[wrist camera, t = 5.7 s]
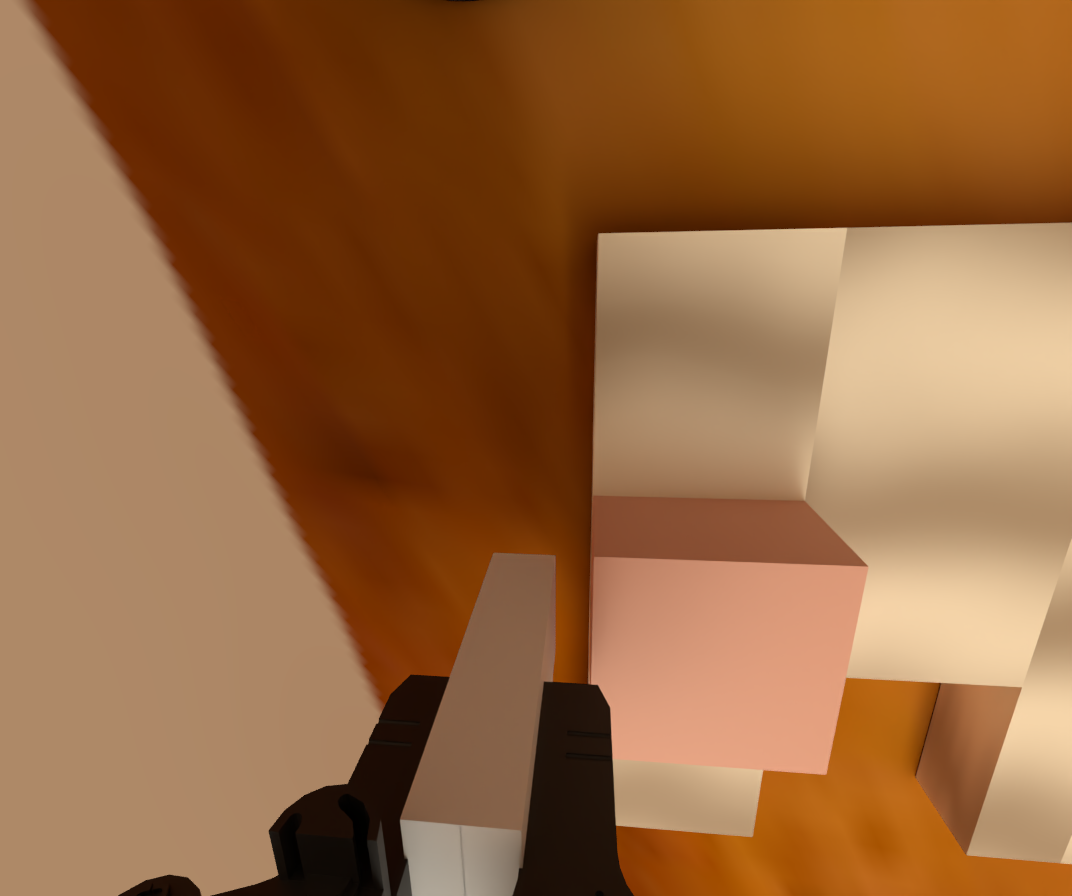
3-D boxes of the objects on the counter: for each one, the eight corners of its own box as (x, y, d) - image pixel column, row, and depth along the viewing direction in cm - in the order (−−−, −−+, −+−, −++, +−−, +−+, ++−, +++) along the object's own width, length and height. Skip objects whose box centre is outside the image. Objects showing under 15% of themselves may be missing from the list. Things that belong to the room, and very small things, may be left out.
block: (593, 495, 13) (593, 556, 10) (804, 500, 12) (868, 566, 10) (589, 663, 14) (589, 757, 12) (777, 673, 14) (826, 774, 11)
